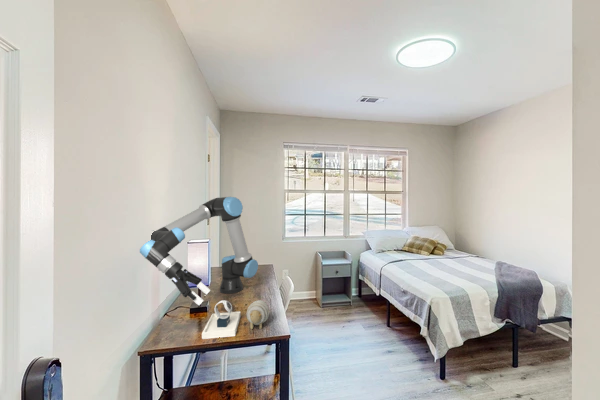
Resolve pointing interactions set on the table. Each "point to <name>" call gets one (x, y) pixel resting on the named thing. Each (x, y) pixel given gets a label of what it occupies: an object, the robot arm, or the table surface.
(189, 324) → the table surface
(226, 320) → the watch
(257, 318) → the toy sheep
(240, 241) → the robot arm
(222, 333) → the tray
